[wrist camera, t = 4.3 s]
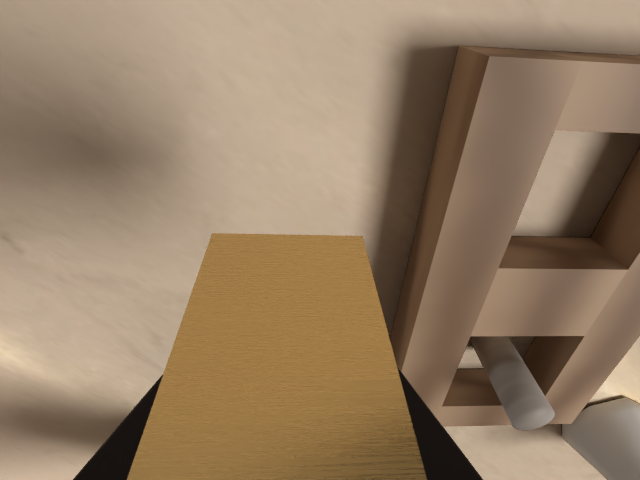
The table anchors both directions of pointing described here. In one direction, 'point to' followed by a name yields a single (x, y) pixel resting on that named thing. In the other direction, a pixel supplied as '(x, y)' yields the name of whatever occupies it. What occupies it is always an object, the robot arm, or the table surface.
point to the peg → (281, 370)
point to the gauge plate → (519, 245)
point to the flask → (608, 438)
